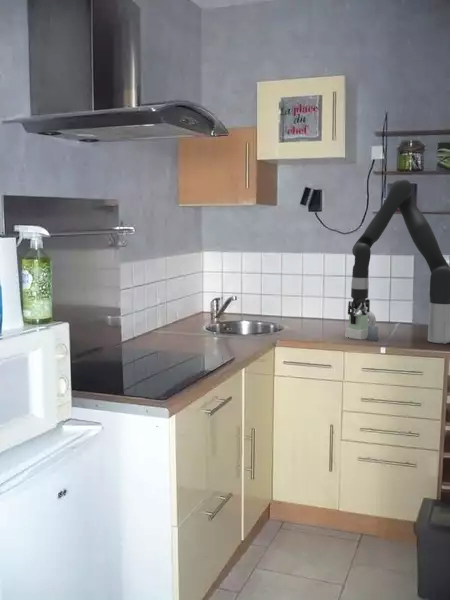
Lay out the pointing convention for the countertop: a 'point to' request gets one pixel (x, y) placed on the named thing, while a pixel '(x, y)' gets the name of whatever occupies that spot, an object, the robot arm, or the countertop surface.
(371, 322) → the donut
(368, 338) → the charcoal cylinder
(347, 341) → the countertop surface
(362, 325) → the sage cube
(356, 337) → the ceramic pedestal
